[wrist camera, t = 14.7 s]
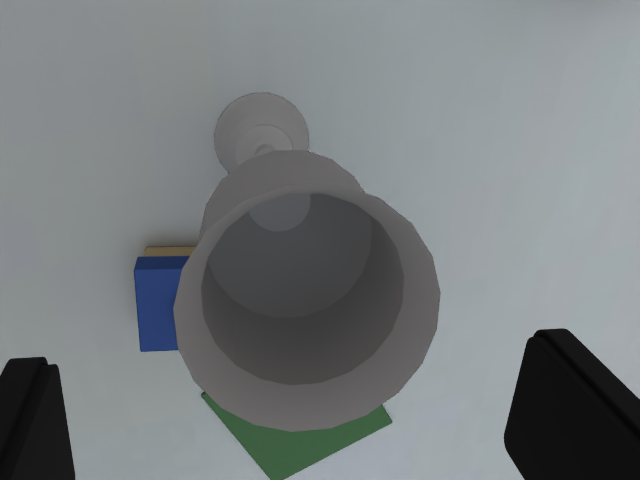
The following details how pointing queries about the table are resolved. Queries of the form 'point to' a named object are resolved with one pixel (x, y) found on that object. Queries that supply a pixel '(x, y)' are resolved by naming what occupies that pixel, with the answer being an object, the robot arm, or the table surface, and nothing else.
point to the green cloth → (296, 440)
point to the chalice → (300, 282)
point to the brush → (158, 295)
